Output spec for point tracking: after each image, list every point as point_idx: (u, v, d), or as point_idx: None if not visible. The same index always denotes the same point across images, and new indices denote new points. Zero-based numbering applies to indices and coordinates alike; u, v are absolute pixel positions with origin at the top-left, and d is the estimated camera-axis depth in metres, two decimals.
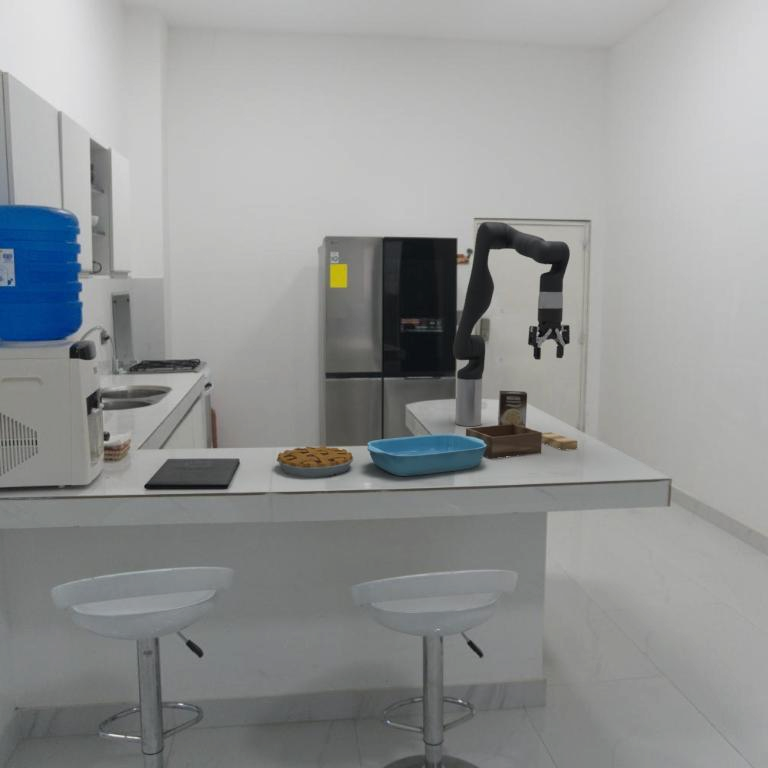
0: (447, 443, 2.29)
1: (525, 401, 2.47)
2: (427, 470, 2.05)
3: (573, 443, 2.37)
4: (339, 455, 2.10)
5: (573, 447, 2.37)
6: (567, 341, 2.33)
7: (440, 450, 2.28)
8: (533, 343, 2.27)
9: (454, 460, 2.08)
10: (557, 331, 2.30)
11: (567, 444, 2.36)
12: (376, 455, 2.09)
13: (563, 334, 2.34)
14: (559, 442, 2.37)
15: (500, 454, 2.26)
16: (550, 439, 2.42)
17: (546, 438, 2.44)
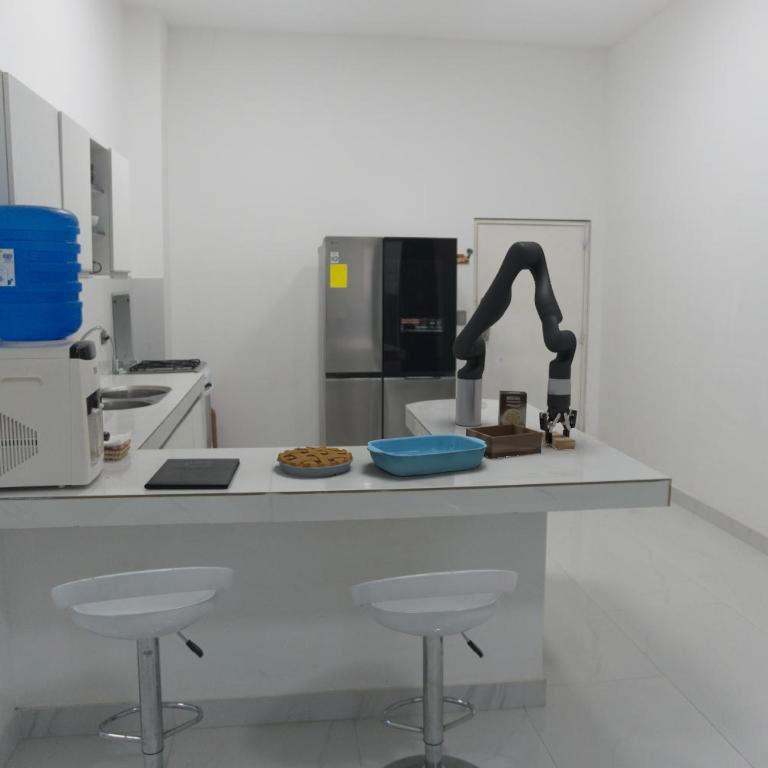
0: (449, 444, 2.29)
1: (525, 401, 2.47)
2: (426, 470, 2.05)
3: (571, 443, 2.37)
4: (339, 455, 2.10)
5: (570, 446, 2.37)
6: (573, 425, 2.44)
7: (441, 450, 2.28)
8: (545, 429, 2.39)
9: (453, 461, 2.08)
10: (565, 415, 2.41)
11: (563, 443, 2.36)
12: (375, 455, 2.10)
13: (570, 418, 2.45)
14: (556, 441, 2.38)
15: (500, 454, 2.26)
16: None
17: None
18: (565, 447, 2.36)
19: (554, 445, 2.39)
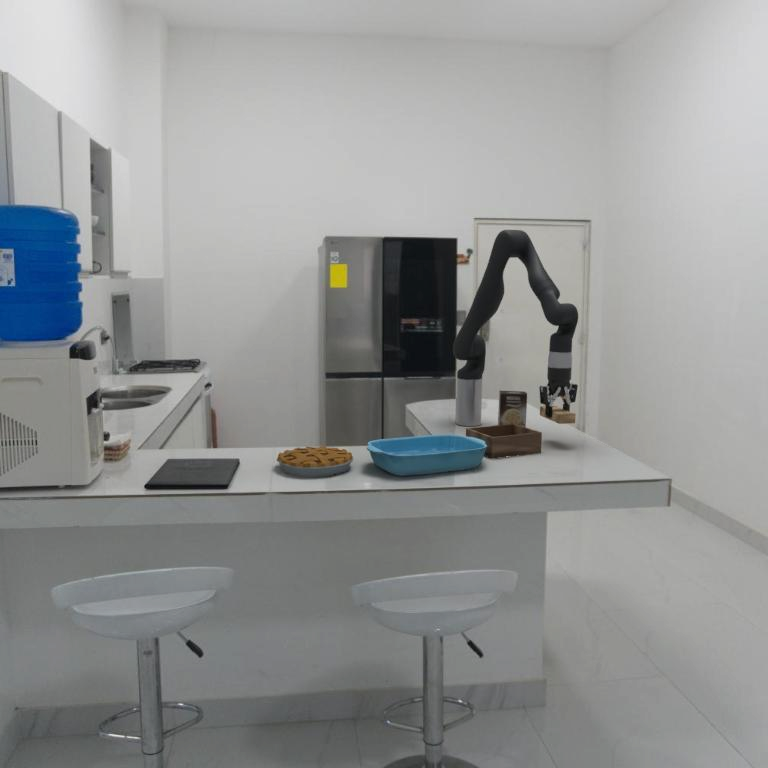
0: (450, 444, 2.29)
1: (525, 401, 2.47)
2: (426, 470, 2.05)
3: (571, 416, 2.36)
4: (339, 455, 2.10)
5: (570, 420, 2.36)
6: (573, 399, 2.42)
7: (442, 451, 2.28)
8: (545, 402, 2.38)
9: (453, 461, 2.08)
10: (566, 389, 2.40)
11: (564, 417, 2.35)
12: (375, 455, 2.10)
13: (570, 392, 2.43)
14: (556, 414, 2.36)
15: (500, 454, 2.26)
16: None
17: None
18: (565, 421, 2.35)
19: (554, 419, 2.38)
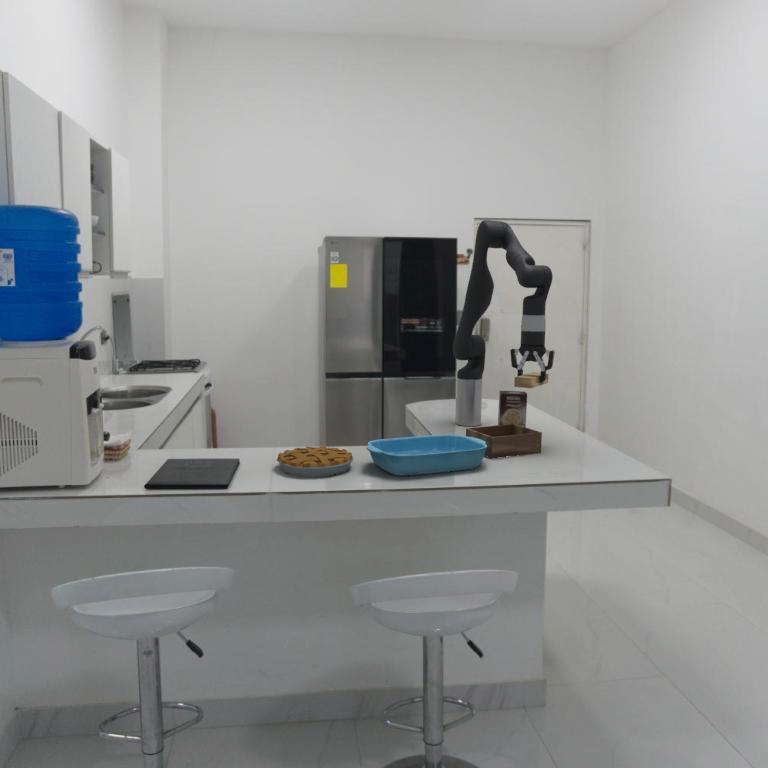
0: (450, 444, 2.29)
1: (525, 401, 2.47)
2: (425, 470, 2.05)
3: (526, 380, 2.29)
4: (339, 455, 2.10)
5: (526, 384, 2.30)
6: (548, 366, 2.32)
7: (442, 451, 2.28)
8: (512, 365, 2.36)
9: (453, 461, 2.08)
10: (535, 354, 2.32)
11: (519, 380, 2.31)
12: (375, 454, 2.10)
13: None
14: None
15: (500, 454, 2.26)
16: None
17: None
18: (520, 384, 2.31)
19: None
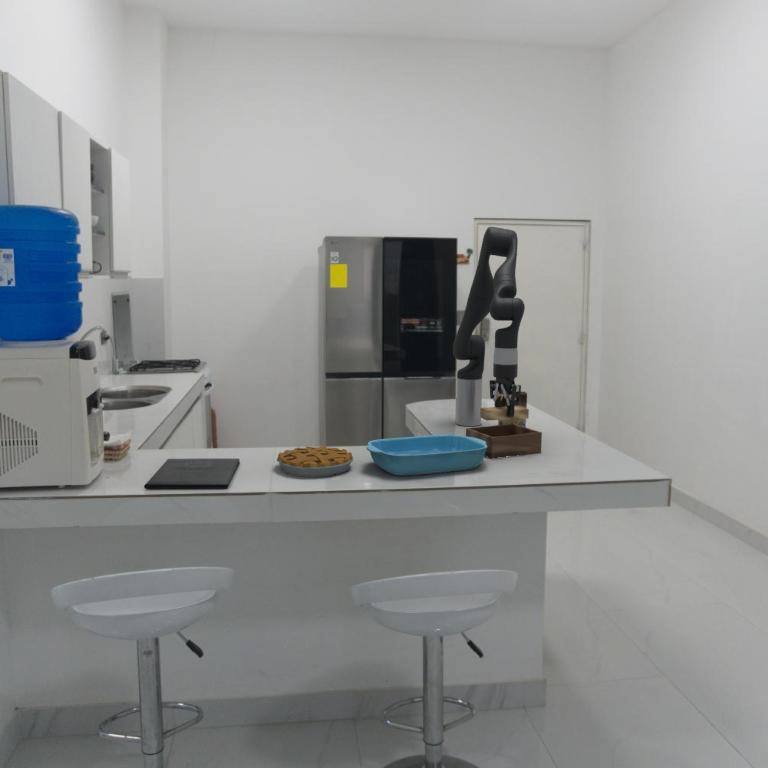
0: (451, 444, 2.28)
1: (525, 401, 2.47)
2: (424, 470, 2.05)
3: (485, 412, 2.30)
4: (339, 455, 2.10)
5: (484, 416, 2.31)
6: (511, 401, 2.28)
7: (443, 451, 2.28)
8: (490, 396, 2.38)
9: (452, 461, 2.07)
10: (502, 387, 2.30)
11: (482, 411, 2.33)
12: (375, 454, 2.10)
13: None
14: None
15: (500, 454, 2.26)
16: None
17: None
18: (482, 415, 2.32)
19: None
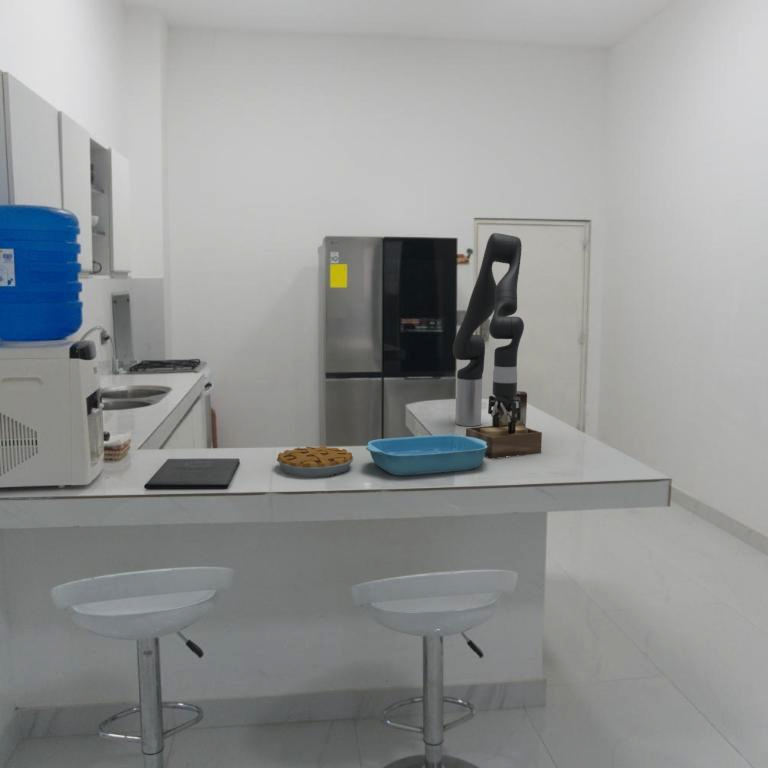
0: (452, 444, 2.28)
1: (525, 401, 2.47)
2: (424, 470, 2.05)
3: (484, 433, 2.31)
4: (339, 455, 2.10)
5: None
6: (512, 418, 2.27)
7: (444, 451, 2.28)
8: (488, 411, 2.39)
9: (452, 461, 2.07)
10: (502, 405, 2.31)
11: (481, 431, 2.34)
12: (374, 454, 2.11)
13: None
14: None
15: (500, 454, 2.26)
16: None
17: None
18: None
19: None
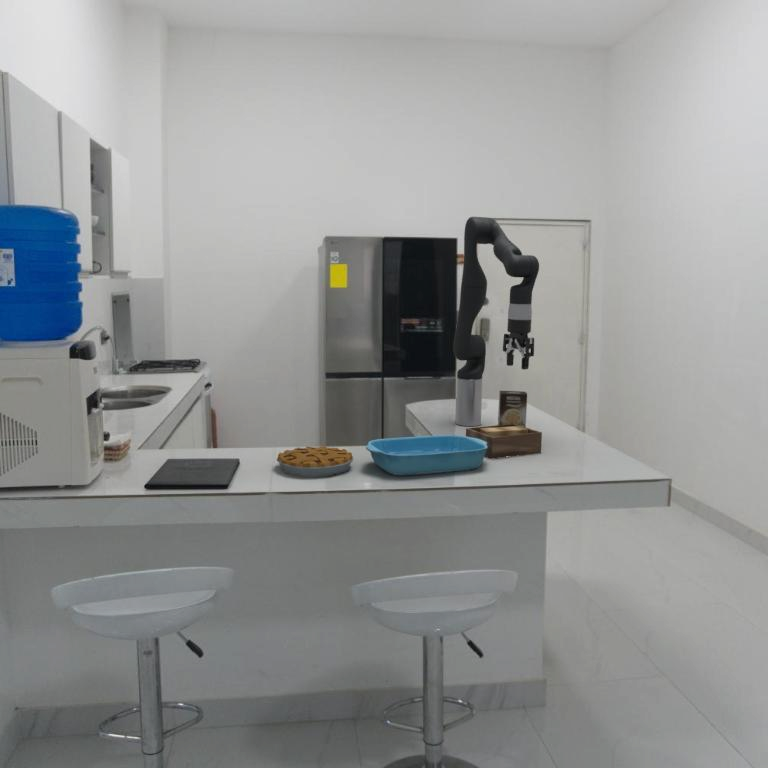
0: (453, 444, 2.28)
1: (525, 401, 2.47)
2: (423, 470, 2.05)
3: (484, 433, 2.31)
4: (339, 455, 2.10)
5: None
6: (526, 353, 2.35)
7: (445, 451, 2.27)
8: (503, 349, 2.47)
9: (451, 461, 2.07)
10: (516, 341, 2.39)
11: (481, 431, 2.34)
12: (374, 454, 2.11)
13: None
14: None
15: (500, 454, 2.26)
16: None
17: None
18: None
19: None
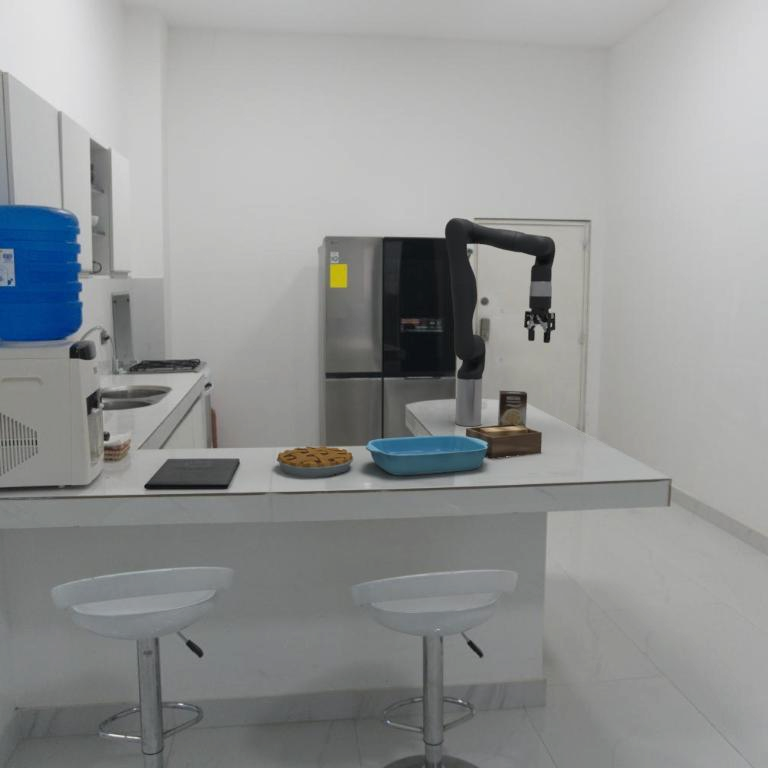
0: (454, 444, 2.28)
1: (525, 401, 2.47)
2: (422, 470, 2.05)
3: (484, 433, 2.31)
4: (339, 455, 2.10)
5: None
6: (547, 327, 2.51)
7: (446, 451, 2.27)
8: (524, 325, 2.63)
9: (451, 461, 2.07)
10: (538, 317, 2.54)
11: (481, 431, 2.34)
12: (374, 454, 2.11)
13: None
14: None
15: (500, 454, 2.26)
16: None
17: None
18: None
19: None
